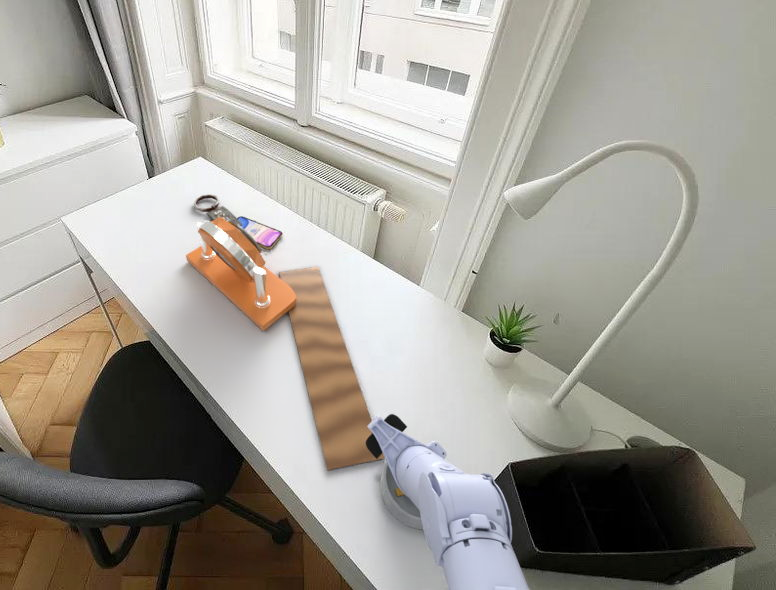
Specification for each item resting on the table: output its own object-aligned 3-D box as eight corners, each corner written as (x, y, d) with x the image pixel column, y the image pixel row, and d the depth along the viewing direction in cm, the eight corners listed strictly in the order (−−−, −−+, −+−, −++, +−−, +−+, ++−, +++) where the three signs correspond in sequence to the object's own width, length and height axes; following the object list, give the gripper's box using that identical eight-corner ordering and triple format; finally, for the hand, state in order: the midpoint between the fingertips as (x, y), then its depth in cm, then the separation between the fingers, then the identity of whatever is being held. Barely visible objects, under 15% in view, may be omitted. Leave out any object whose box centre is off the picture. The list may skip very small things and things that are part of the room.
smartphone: (269, 251, 108) (269, 248, 107) (224, 232, 114) (224, 229, 114) (284, 234, 113) (284, 231, 112) (240, 217, 119) (240, 214, 119)
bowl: (458, 512, 63) (465, 504, 60) (402, 540, 60) (407, 533, 58) (419, 447, 70) (424, 437, 68) (368, 470, 68) (371, 461, 65)
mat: (384, 458, 69) (384, 457, 69) (327, 470, 68) (327, 469, 68) (317, 267, 103) (317, 266, 103) (279, 273, 102) (279, 272, 102)
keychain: (221, 237, 113) (220, 231, 111) (190, 204, 125) (189, 199, 124) (244, 225, 116) (244, 220, 115) (212, 194, 128) (211, 189, 127)
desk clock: (261, 333, 88) (254, 271, 75) (185, 262, 106) (169, 202, 93) (301, 301, 94) (300, 238, 82) (223, 239, 112) (212, 179, 99)
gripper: (509, 512, 43) (461, 477, 56) (404, 402, 47) (382, 393, 60) (466, 566, 42) (427, 518, 55) (362, 448, 46) (349, 429, 59)
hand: (401, 455), depth 57 cm, fingers open, 7 cm apart
